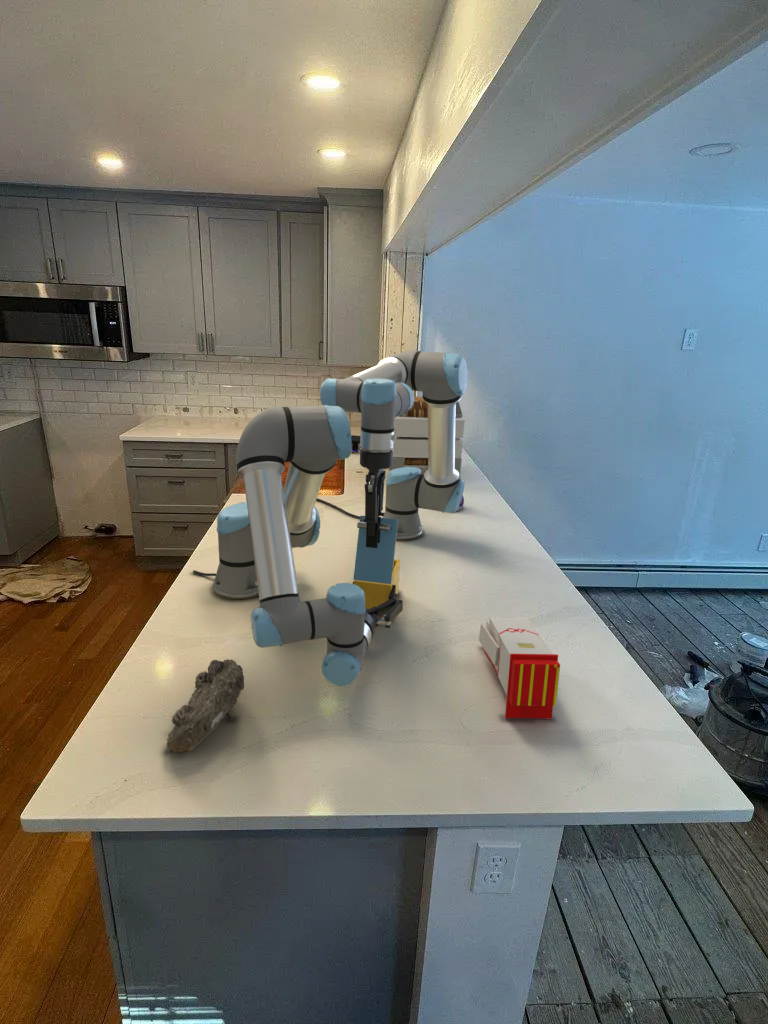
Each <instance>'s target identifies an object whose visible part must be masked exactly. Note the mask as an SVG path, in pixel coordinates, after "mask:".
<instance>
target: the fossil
mask: <svg viewBox="0 0 768 1024" xmlns="http://www.w3.org/2000/svg"><path fill="white" fill-rule="evenodd" d="M243 670H244V669H243V667H242V665H240V664H237V662H236V661H235V660H234V659H232V658H231V659H227V658H226V659H224V660H223V661H222V660H217V659H212V660H211V661H210V663H209V665H208V666H207V671H201V672H199V673H198V674H197V675H196V676H195V680H194V684H195V685H194V687H195V689H194V690H193V693H192V694H191V697H190V698H189V700H188V704H184V705H182V706H181V707H180V709H177V710H176V711H175V713H174V715H173V716H172V718H171V723H172V724H173V727H172V730H171V731H170V732H168V734H167V738H166V741H167V742H166V745H167V749H168V750H169V751H173V752H174V753H176V754H178V753H182V752H188V751H189V752H192V751H193V750H195V748H196V747H197V746H199V744H200V743H201V742H203V741H204V740H205V739H206V738H207V737H208V736H209V735H210V734H211V733H212V732H214V730H215V729H217V727H218V726H219V724H220V722H221V721H222V720H223V719H224V718H225V716H226V717H227V719H229V720H233V717H232V715H230V714H229V710H230V709H231V708H234V706H235V704H236V703H237V702H238V699H239V697H240V695H241V693H242V691H243V690H245V689H244V688H245V675H244V671H243Z"/></svg>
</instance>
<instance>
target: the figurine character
mask: <svg viewBox="0 0 768 1024" xmlns="http://www.w3.org/2000/svg"><path fill="white" fill-rule="evenodd" d="M351 442H352V447H351V454H353V453H357V454H359V453H360V450H361V449H362V448H361V447H360V435H353V434H351Z"/></svg>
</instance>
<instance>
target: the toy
mask: <svg viewBox="0 0 768 1024" xmlns="http://www.w3.org/2000/svg"><path fill="white" fill-rule="evenodd" d="M478 642H479V644H480V645H481V647H482V649H483V651H484V653H485V655H486V656H487V659H488V661H489V662H490V664H491V666H492V667H493V669H494V671H495V673H496V675H497V678H498V679H499V682H500V684H501V686H502V688H503V690H504V692H505V694H506V695H505V696H506V701H505V711H504V717H505V719H535V720H536V719H537V720H538V719H539V720H540V719H541V720H552V719H553V710H554V707H556V706H557V699H558V691H559V682H560V681H559V679H560V670H561V664H560V662H559V655H558V654H555V653H552V651H551V649H550V648H549V647H548V645H547V643H545V641H544V640H543V638H542V637H541V636H540V634H539V633H538V631H537V630H536V628H535V626H534V625H533V623H532V622H531V621H530V620H529V618H528V617H493V616H492V617H489V619H486V623H485V624H484V623H482V622H481V623H480V627H479V635H478Z"/></svg>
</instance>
